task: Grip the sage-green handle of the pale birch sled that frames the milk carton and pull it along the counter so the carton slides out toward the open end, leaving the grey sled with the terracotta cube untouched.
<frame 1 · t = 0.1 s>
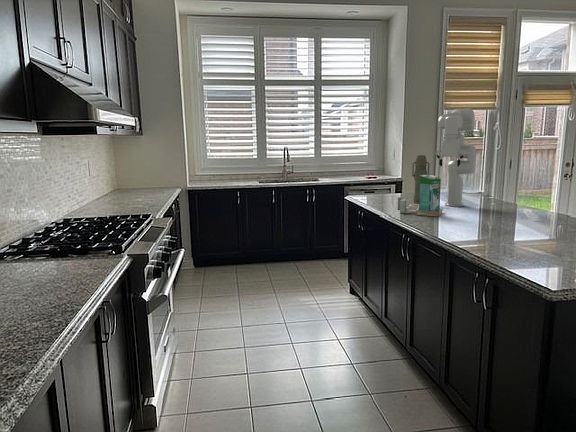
hand: (449, 166, 265), 31 cm above the table, tool pointing down, fingers open, 9 cm apart
milk carton: (428, 214, 282), resting in carton sled
carton sled: (420, 207, 284), point 4 cm above the table, slide at 0.0 cm
cube sled: (409, 203, 298), point 4 cm above the table, slide at 0.0 cm
thermos: (419, 203, 322), on the table
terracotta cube: (414, 210, 298), resting in cube sled
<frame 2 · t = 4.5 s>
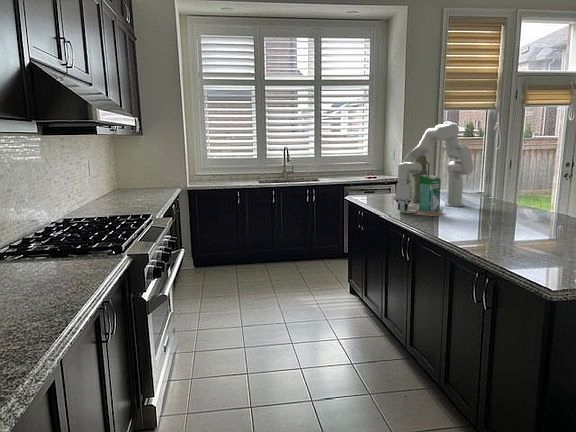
hand: (403, 209, 289), 2 cm above the table, tool pointing down, fingers closed on carton sled, 3 cm apart
carton sled: (420, 207, 284), point 4 cm above the table, slide at 0.0 cm, touching gripper
everything else where it was.
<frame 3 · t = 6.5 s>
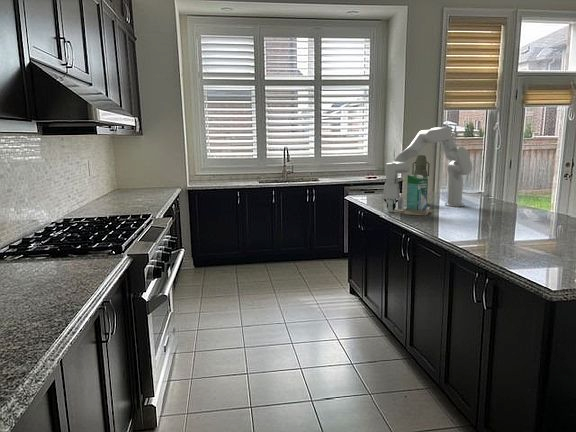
hand: (391, 208, 292), 2 cm above the table, tool pointing down, fingers closed on carton sled, 3 cm apart
milk carton: (416, 213, 286), resting in carton sled
carton sled: (408, 206, 287), point 4 cm above the table, slide at 7.9 cm, touching gripper, milk carton
everything else where it was.
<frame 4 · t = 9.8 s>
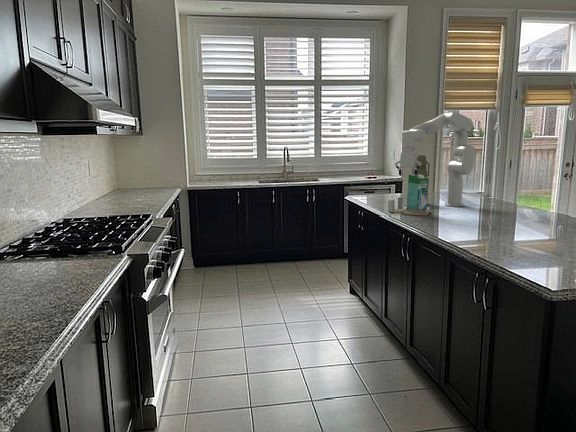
hand: (407, 175, 290), 24 cm above the table, tool pointing down, fingers open, 9 cm apart
milk carton: (416, 213, 286), resting in carton sled, touching gripper
carton sled: (408, 206, 287), point 4 cm above the table, slide at 7.8 cm
everything else where it was.
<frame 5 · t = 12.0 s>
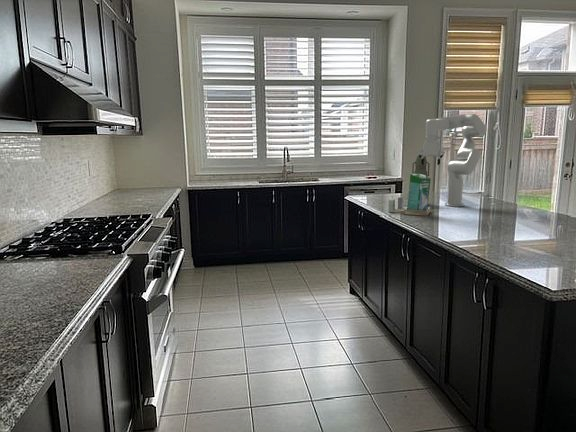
hand: (430, 164, 290), 30 cm above the table, tool pointing down, fingers open, 9 cm apart
milk carton: (416, 212, 286), resting in carton sled
carton sled: (408, 206, 287), point 4 cm above the table, slide at 7.5 cm, touching milk carton
everything else where it was.
at the end: carton sled slide at 7.5 cm; milk carton inside the target area (1.2 cm from its centre), resting in carton sled; milk carton tilted 4° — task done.
